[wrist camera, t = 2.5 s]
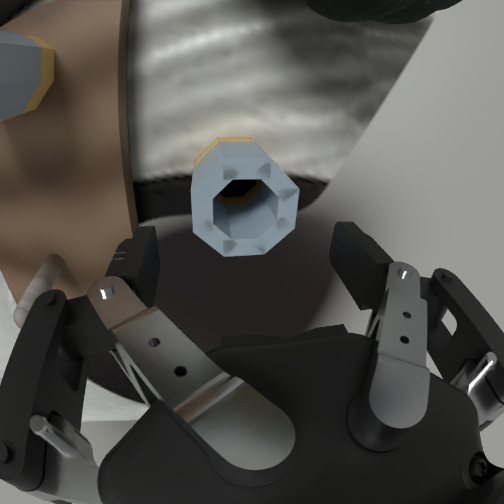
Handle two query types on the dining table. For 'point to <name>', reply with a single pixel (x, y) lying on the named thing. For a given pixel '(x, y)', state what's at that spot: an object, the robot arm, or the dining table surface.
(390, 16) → the squash
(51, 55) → the seated sleeve
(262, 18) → the dining table surface
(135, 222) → the pin board
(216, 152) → the slate sleeve
